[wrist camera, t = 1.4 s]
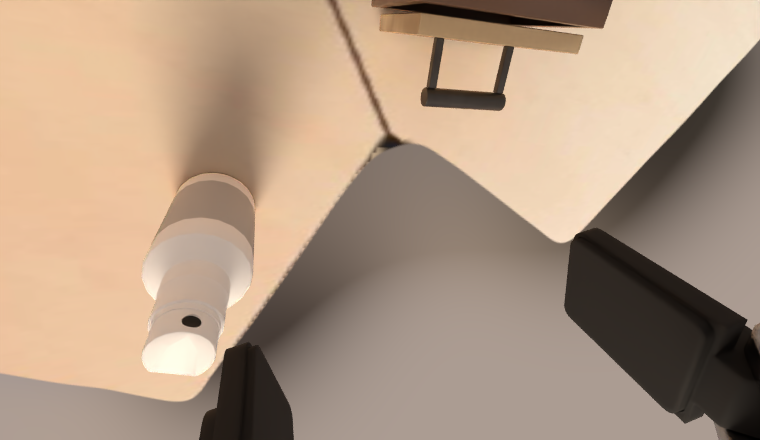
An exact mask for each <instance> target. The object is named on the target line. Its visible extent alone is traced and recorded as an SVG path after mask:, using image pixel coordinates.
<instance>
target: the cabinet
mask: <svg viewBox="0 0 760 440" xmlns="http://www.w3.org/2000/svg"><path fill="white" fill-rule="evenodd" d="M612 1H613V0H372V7H379V8H386V9H393V10H400V11H407V12H415V13H428V14H435V15H442V16H449V17H457V18H464V19H471V20H478V21H485V22H492V23H499V24H506V25H513V26H522V27H561V28H599V29H602V28H603V27H604V24H605V22H606V19H607V16H608V13H609V10H610V7H611V4H612Z"/></svg>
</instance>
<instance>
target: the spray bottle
mask: <svg viewBox="0 0 760 440" xmlns="http://www.w3.org/2000/svg"><path fill="white" fill-rule="evenodd" d="M254 230H255V205H254V199H253V197H252V195H251V193H250V191H249V190H248V188H246V187H245V186H244V185H243V184H242V183H241V182H240V181H239V180H237V179H235V178H233V177H231V176H229V175H224V174H219V173H204V174H200V175H197V176H194V177H192V178H190V179H188V180H187V181H186V182H185V183H184V184H182V185H181V186H180V188H179V190H178V192H177V193H176V195H175V197H174V199H173V201H172V203H171V205H170V207H169V209H168V211H167V214H166V216H165V218H164V220H163V222H162V224H161V226H160V228H159V230H158V232H157V234H156V236H155V238H154V240H153V242H152V244H151V246H150V248H149V250H148V252H147V254H146V256H145V258H144V260H143V266H142V280H143V282H144V285H145V288H146V291H147V292H148V293H149V294H150V295H151V296H152V297H153V299H154V300H155V301H156V302H155V304H154V307H153V309H152V312H151V315H150V317H149V320H148V331H149V333H148V337H147V340H146V342H145V345H144V348H143V351H142V361H143V364H144V366H145V368H146V369H147V370H148V371H149V372H160V373H170V374H178V375H189V376H197V375H199V374H202V373H203V372H205V371H206V370H207V369H208V368H210V366H211V365H212V363H213V362H214V361H215V357H216V351H217V344H218V339H219V337H220V335H221V334H222V332H223V329H224V324H225V316H226V309H227V308H229V307H231V306H232V305H234V304H235V303H236V302H237V301H239V300H240V299H241V298H242V297H243V296H244V294H245V293H246V291H247V290H248V288H249V287H250V284H251V280H252V275H253V260H254Z"/></svg>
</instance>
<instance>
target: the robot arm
mask: <svg viewBox="0 0 760 440" xmlns="http://www.w3.org/2000/svg"><path fill="white" fill-rule="evenodd" d="M564 306H565V311H566V312H567V314H568V316H569V317H570V318H571V319H572V320H573V321H574V322H575V323H576V324H577V325H578V326H579V327H580V328H581V329H582V330H583V331H584V332H585V333H586V334H587V335H588V336H589V337H590V338H592V339H593V340H594V341H595V342H596V343H597V344H598V345H599V346H600V347H601V348H602V349H603V350H604V351H605V352H606V353H607V354H608V355H609V356H610V357H611V358H612V359H613V360H614V361H615V362H616V363H617V364H618V365H619V366H620V367H621V368H622V369H623V370H625V372H626V373H628V374H629V375H630V376H631V377H632V378H633V379H634V380H635V381H636V382H637V383H638V384H639V385H640V386H641V387H642V388H643V389H644V390H645V391H646V392H647V393H648V394H649V395H650V396H651V397H652V398H653V399H654V400H655V401H656V402H657V403H658V404H659V405H660V406H661V407H662V408H664V409H665V410H666V411H668V412H670V413H674V414H676V415H677V416H678V417H679V418H680V419H681V420H682V421H683V422H684V423H688V422H690V421H692V420H695V419H697V418H699V417H702V416H703V414H704V413H705V414H706V415H707V416H708V417H710V418H711V419H712V420H713V421H714V424H715V428H716V431H717V435H718V438H719V440H760V323H759V324H757V325H755V327H754V328H753V330H751V329H750V328H748V327H747V326H745V324H746V322H747V319H745V318H744V317H742V316H740V315H739V314H737V313H735V312H734V311H732V310H731V309H729V308H727V307H726V306H724V305H722V304H721V303H719V302H718V301H716V300H714V299H713V298H711V297H710V296H708V295H706V294H705V293H703V292H701V291H700V290H698V289H697V288H695V287H693V286H692V285H690V284H688V283H687V282H685V281H684V280H682V279H680V278H679V277H677V276H675V275H674V274H672V273H671V272H669V271H667V270H666V269H664V268H662V267H661V266H659V265H657V264H656V263H654V262H653V261H651V260H649V259H648V258H646V257H645V256H643V255H641V254H640V253H638V252H637V251H635V250H633V249H632V248H630V247H628V246H627V245H625V244H624V243H622V242H620V241H619V240H617V239H615V238H614V237H612V236H611V235H609V234H607V233H606V232H604V231H602V230H601V229H598V228H593V229H590V230H587V231H584V232H581V233H578V234H576V235H575V237H574V240H573V241H572V242H571V245H570V255H569V265H568V275H567V284H566V294H565V304H564ZM199 440H294V436H293V419H292V412H291V408H290V405H289V403H288V401H287V399H286V397H285V395H284V393H283V391H282V389H281V387H280V385H279V384H278V381H277V380H276V378H275V376H274V374H273V372H272V370H271V368H270V366H269V364H268V362H267V360H266V358H265V356H264V355H263V353H262V351H261V349H260V347H259V346H258V345H256V346H253V347H252V345H251V344H250V343H244V344H241V345H238V346H235V347H232V348H229V349H226V351H225V354H224V360H223V367H222V375H221V382H220V389H219V397H218V403H217V408H215V409H212V410H209V411H208V412H206V414H205V416H204V418H203V422H202V426H201V432H200V438H199Z"/></svg>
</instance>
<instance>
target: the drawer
mask: <svg viewBox="0 0 760 440" xmlns="http://www.w3.org/2000/svg"><path fill="white" fill-rule="evenodd" d="M379 30H380V31H384V32H392V33H400V34H408V35H417V36H425V37H433V38H434V43H433V49H432V56H431V62H430V68H429V75H428V81H427V87H428V88H427V87H425V88H424V89H423V90H422V93H421V104H422V106H427V107H444V108H461V109H478V110H494V111H500V110H502V109H503V108H504V106H505V102H506V98H505V95H504V94H503V90H504V86H505V82H506V78H507V74H508V70H509V66H510V62H511V58H512V54H513V50H514V47H517V48H526V49H535V50H545V51H554V52H563V53H572V54H578V52H579V49H580V45H581V42H582V39H583V35H577V34H570V33H563V32H556V31H549V30H541V29H534V28H527V27H520V26H513V25H506V24H499V23H492V22H485V21H478V20H471V19H464V18H457V17H449V16H442V15H435V14H428V13H401V14H381V19H380V29H379ZM444 39H450V40H458V41H466V42H475V43H483V44H491V45H499V46H504V48H503V52H502V57H501V61H500V65H499V69H498V74H497V78H496V82H495V86H494V91H493V92H494V93H492V92H479V91H466V90H453V89H440V88H436V86H437V80H438V74H439V68H440V62H441V56H442V50H443V44H444Z"/></svg>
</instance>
